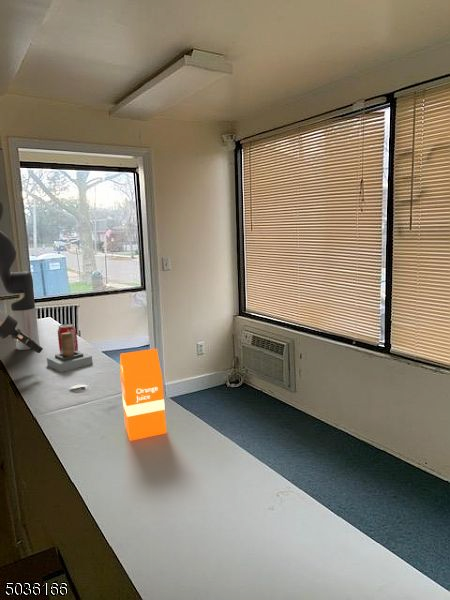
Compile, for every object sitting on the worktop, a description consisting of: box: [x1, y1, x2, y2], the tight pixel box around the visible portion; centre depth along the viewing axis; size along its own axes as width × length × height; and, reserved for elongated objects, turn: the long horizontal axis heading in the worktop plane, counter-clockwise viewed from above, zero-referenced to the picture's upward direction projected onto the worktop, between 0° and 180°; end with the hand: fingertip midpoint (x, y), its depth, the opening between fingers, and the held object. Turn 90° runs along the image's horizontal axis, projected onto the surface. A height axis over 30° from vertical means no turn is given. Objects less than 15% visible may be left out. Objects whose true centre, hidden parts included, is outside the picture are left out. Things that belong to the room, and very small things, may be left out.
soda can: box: [57, 323, 79, 354], centre depth 173 cm, size 7×7×12 cm
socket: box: [46, 350, 93, 373], centre depth 160 cm, size 12×12×4 cm
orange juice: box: [119, 348, 167, 442], centre depth 103 cm, size 8×9×20 cm
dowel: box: [61, 332, 74, 357], centre depth 159 cm, size 4×4×12 cm
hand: (37, 349), depth 154 cm, fingers open, 8 cm apart
